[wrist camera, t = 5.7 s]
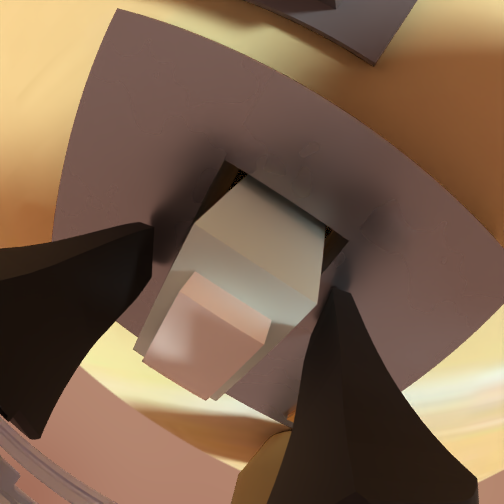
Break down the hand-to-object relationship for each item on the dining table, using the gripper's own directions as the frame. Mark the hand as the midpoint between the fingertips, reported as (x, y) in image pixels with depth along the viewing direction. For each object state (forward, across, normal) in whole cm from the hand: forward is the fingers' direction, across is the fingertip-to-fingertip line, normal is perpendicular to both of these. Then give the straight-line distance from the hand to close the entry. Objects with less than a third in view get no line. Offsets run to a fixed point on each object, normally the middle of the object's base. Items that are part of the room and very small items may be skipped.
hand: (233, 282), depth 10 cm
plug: (+3, 0, 0) cm, 3 cm away
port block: (+3, 0, 0) cm, 3 cm away
